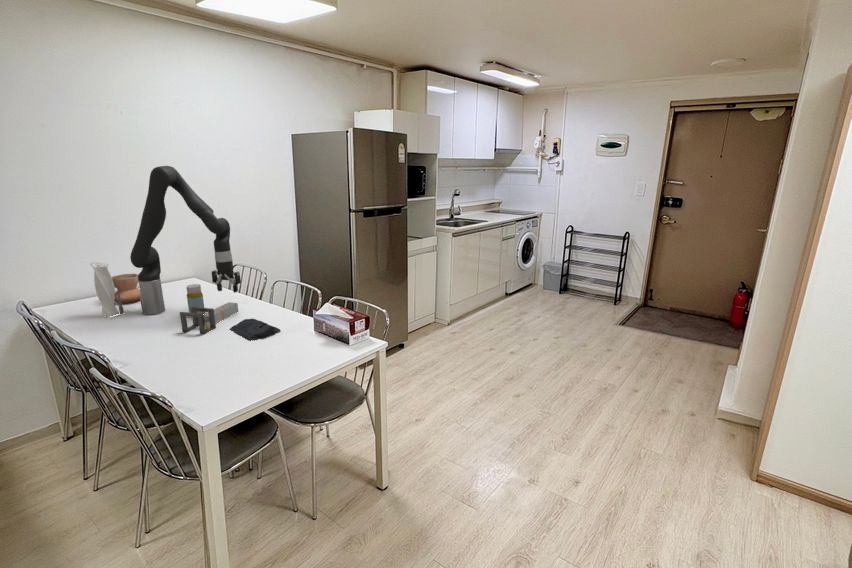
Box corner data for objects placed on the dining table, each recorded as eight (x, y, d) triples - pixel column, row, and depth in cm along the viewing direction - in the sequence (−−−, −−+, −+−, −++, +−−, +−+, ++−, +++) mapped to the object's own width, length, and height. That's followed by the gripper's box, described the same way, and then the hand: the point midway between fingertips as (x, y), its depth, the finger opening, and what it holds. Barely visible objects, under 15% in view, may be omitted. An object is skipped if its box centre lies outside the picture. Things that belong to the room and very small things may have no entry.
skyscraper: (108, 319, 212) (97, 263, 204) (96, 317, 214) (85, 262, 206) (125, 314, 219) (114, 259, 212) (113, 312, 222) (102, 258, 214)
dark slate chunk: (257, 321, 213) (256, 312, 211) (283, 333, 199) (282, 323, 198) (226, 330, 201) (225, 320, 200) (251, 343, 188) (250, 333, 186)
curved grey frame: (182, 332, 197) (179, 312, 194) (195, 325, 205) (192, 306, 202) (204, 334, 195) (201, 314, 192) (216, 327, 203) (213, 308, 200)
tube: (212, 326, 205) (211, 316, 203) (202, 325, 206) (201, 315, 204) (238, 312, 223) (237, 302, 222) (229, 311, 224) (228, 302, 223)
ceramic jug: (142, 294, 249) (138, 270, 245) (151, 300, 239) (147, 275, 235) (105, 302, 236) (99, 276, 232) (112, 308, 226) (107, 282, 222)
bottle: (208, 312, 222) (204, 284, 218) (199, 317, 216) (195, 288, 211) (195, 311, 223) (191, 283, 219) (186, 316, 216) (182, 287, 212)
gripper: (205, 260, 211) (210, 292, 216) (232, 262, 208) (236, 294, 213) (216, 257, 218) (220, 288, 223) (241, 258, 215) (245, 290, 220)
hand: (227, 291), depth 218 cm, fingers open, 8 cm apart
